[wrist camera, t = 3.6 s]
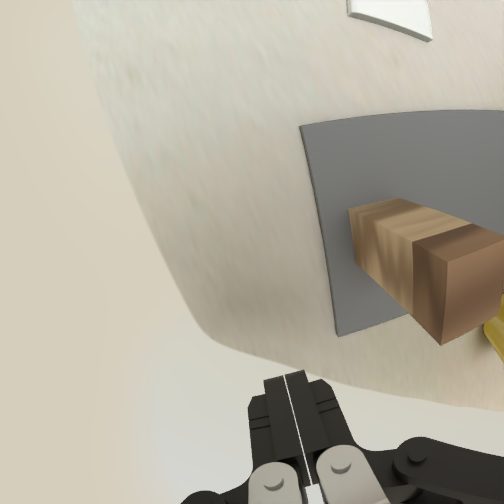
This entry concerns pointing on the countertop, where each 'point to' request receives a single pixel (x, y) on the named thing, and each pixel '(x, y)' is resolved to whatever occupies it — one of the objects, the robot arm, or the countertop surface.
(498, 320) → the plant pot
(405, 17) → the external hard drive
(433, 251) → the block
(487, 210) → the mat
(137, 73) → the countertop surface
